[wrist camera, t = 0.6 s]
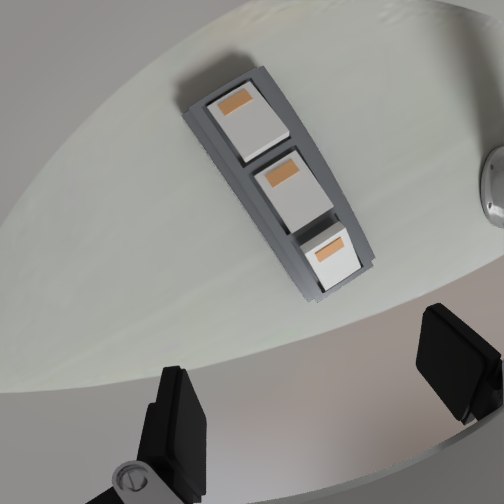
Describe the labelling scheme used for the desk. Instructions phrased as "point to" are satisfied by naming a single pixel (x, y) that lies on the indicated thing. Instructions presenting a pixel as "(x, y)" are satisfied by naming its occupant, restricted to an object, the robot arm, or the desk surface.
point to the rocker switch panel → (256, 199)
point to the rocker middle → (293, 191)
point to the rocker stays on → (248, 121)
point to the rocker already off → (331, 255)
